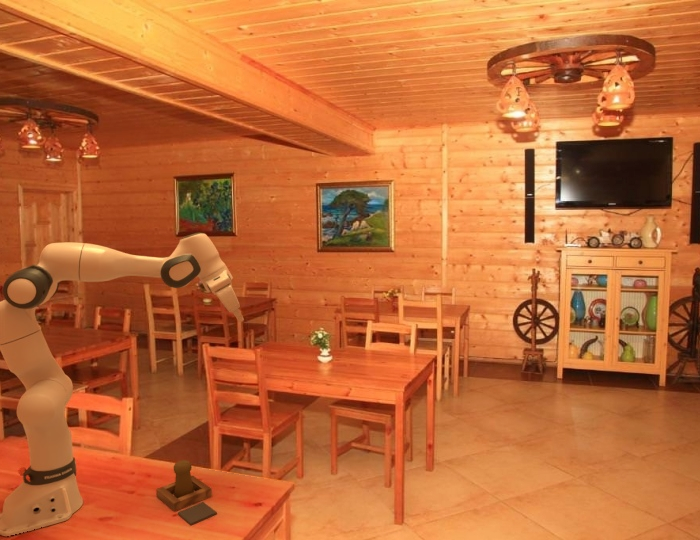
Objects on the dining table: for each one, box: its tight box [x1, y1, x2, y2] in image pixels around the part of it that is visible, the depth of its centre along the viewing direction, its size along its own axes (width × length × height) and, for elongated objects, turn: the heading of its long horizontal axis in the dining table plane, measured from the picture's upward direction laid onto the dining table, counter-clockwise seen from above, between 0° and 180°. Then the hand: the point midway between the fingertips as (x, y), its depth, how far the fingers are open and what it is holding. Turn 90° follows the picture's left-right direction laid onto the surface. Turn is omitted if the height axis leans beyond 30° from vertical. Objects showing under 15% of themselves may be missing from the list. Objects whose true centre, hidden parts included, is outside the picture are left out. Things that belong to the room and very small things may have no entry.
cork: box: [173, 459, 195, 498], centre depth 167 cm, size 6×6×11 cm
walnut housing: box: [155, 475, 213, 513], centre depth 167 cm, size 12×12×2 cm
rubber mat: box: [177, 501, 218, 526], centre depth 157 cm, size 8×8×1 cm
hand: (240, 318), depth 171 cm, fingers open, 8 cm apart
